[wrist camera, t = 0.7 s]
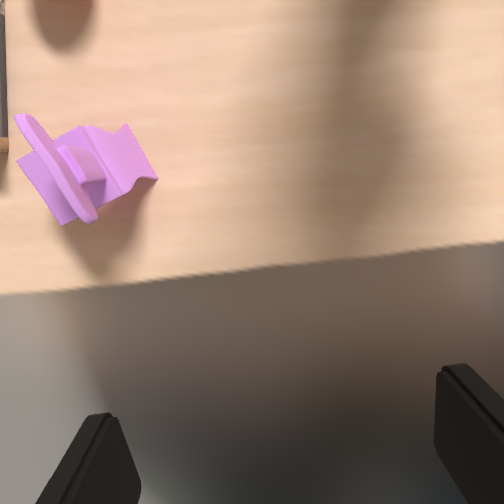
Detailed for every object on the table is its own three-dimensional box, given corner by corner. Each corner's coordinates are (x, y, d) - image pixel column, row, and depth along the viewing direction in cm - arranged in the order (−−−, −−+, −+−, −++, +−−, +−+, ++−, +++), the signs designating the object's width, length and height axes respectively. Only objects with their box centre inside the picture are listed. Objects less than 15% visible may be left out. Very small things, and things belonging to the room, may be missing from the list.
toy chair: (51, 152, 34) (-88, 157, 20) (121, 113, 33) (28, 89, 19) (96, 220, 36) (1, 269, 22) (163, 187, 35) (108, 215, 21)
